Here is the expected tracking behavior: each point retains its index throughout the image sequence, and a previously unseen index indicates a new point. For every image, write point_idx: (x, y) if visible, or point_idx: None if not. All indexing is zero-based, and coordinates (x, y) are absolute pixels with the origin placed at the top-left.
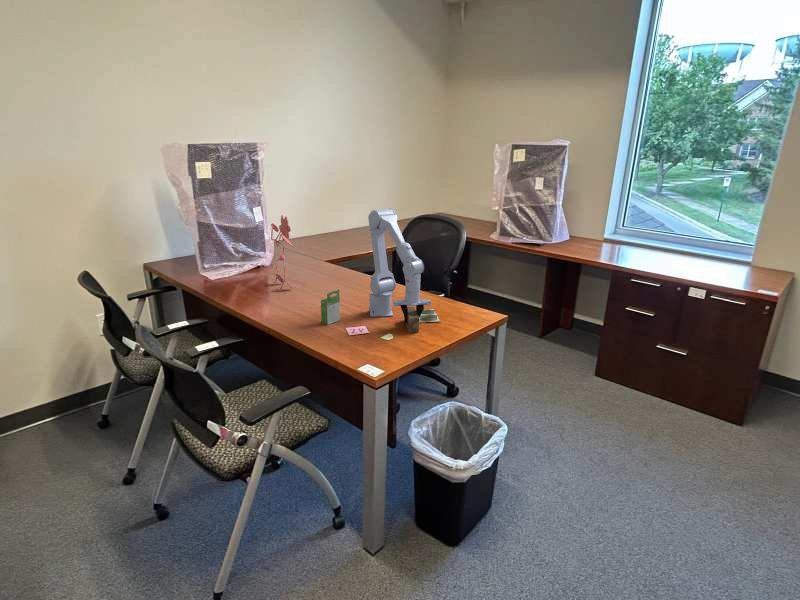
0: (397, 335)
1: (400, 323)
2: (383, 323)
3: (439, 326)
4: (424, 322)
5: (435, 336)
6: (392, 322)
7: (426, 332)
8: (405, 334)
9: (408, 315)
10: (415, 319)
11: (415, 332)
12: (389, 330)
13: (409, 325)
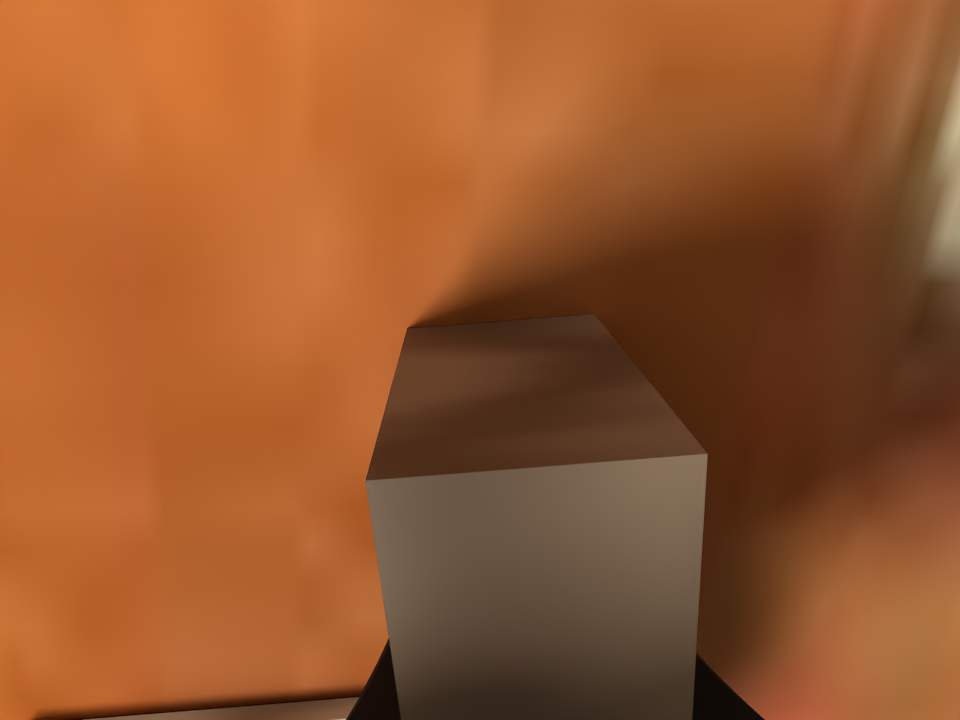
0: (844, 182)
1: None
2: (942, 669)
3: (23, 587)
4: (285, 709)
5: (58, 124)
6: (794, 705)
7: (255, 331)
8: (677, 232)
9: (691, 671)
10: (496, 450)
11: (470, 323)
12: (929, 414)
13: (631, 366)
